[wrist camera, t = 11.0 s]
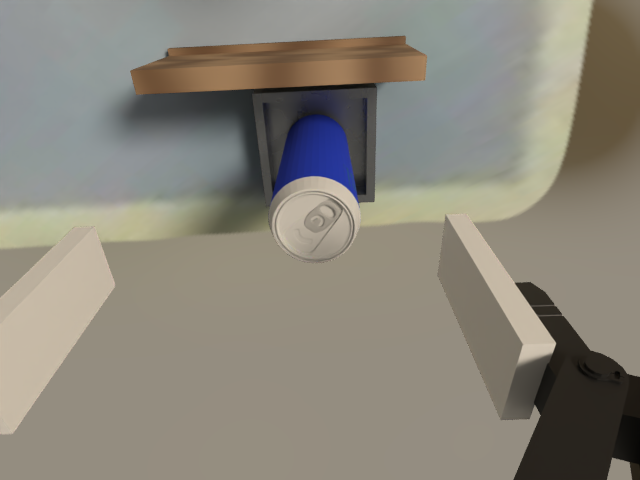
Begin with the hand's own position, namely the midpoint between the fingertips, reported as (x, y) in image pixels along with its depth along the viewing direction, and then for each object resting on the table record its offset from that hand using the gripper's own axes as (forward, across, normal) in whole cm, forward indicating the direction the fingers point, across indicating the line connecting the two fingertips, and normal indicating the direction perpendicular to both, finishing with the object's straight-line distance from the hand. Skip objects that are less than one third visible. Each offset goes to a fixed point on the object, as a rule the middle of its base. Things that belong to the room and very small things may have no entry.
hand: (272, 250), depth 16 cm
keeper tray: (+21, +2, -2) cm, 22 cm away
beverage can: (+21, +2, -2) cm, 21 cm away
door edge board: (+22, 0, +4) cm, 22 cm away
